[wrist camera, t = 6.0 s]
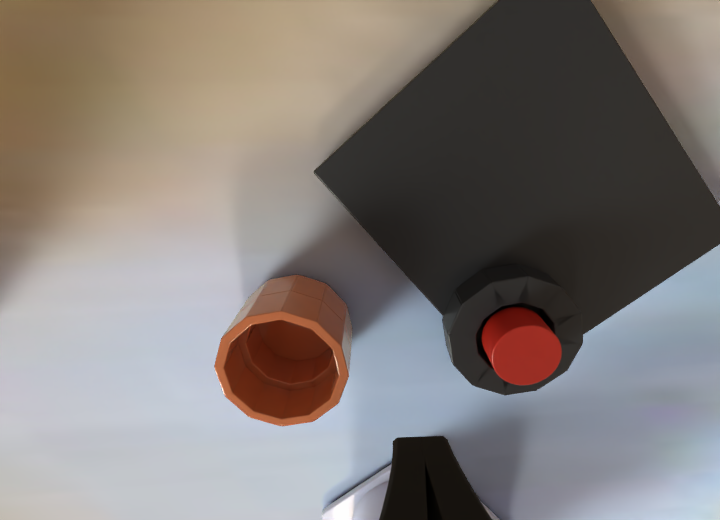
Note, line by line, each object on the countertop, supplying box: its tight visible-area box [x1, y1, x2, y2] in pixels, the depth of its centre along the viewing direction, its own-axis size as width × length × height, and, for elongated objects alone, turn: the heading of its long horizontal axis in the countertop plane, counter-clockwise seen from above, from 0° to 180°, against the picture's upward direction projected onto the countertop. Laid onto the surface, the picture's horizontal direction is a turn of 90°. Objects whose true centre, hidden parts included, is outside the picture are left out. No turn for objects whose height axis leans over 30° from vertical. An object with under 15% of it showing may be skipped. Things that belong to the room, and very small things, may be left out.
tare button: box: [481, 307, 562, 385], centre depth 18 cm, size 3×3×2 cm
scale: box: [314, 0, 720, 395], centre depth 18 cm, size 14×13×3 cm
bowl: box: [214, 275, 352, 426], centre depth 19 cm, size 5×5×4 cm
